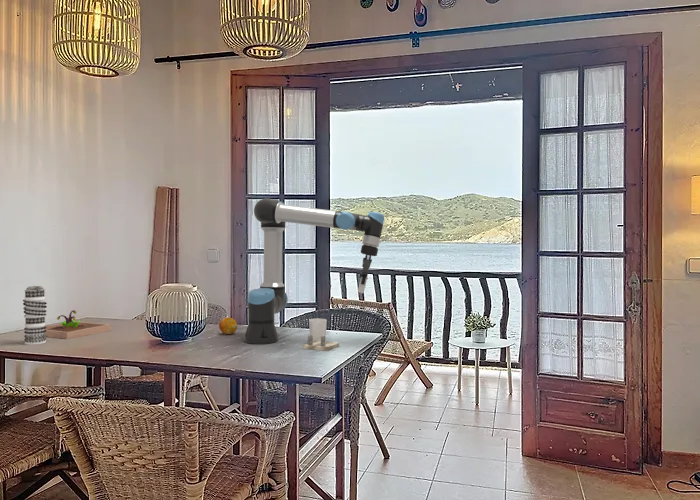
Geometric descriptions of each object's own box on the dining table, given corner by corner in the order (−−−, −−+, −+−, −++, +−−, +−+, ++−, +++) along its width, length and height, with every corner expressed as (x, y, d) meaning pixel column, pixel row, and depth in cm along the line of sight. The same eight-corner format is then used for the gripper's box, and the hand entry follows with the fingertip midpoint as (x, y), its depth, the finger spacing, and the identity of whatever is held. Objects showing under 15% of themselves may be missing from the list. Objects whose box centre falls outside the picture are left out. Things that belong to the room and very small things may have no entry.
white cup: (324, 343, 247) (324, 321, 246) (306, 343, 248) (306, 320, 248) (328, 340, 254) (328, 318, 254) (311, 340, 256) (311, 318, 256)
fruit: (234, 335, 267) (234, 318, 267) (217, 335, 267) (217, 318, 267) (238, 332, 276) (238, 316, 275) (221, 332, 276) (221, 316, 276)
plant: (101, 332, 277) (101, 309, 277) (63, 338, 261) (62, 314, 261) (77, 328, 288) (77, 307, 288) (39, 334, 272) (39, 311, 271)
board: (302, 348, 236) (302, 335, 236) (314, 344, 246) (314, 331, 246) (327, 350, 231) (327, 337, 231) (339, 346, 241) (339, 333, 241)
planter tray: (30, 334, 268) (30, 328, 268) (75, 327, 291) (75, 321, 291) (67, 338, 258) (67, 332, 258) (110, 330, 281) (110, 324, 281)
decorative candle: (20, 342, 248) (19, 286, 247) (43, 340, 255) (42, 285, 254) (27, 345, 242) (26, 287, 241) (50, 342, 249) (49, 286, 248)
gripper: (379, 244, 240) (369, 293, 238) (377, 250, 265) (368, 294, 263) (362, 241, 240) (352, 289, 238) (361, 247, 265) (352, 291, 263)
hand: (360, 292), depth 251 cm, fingers open, 13 cm apart
